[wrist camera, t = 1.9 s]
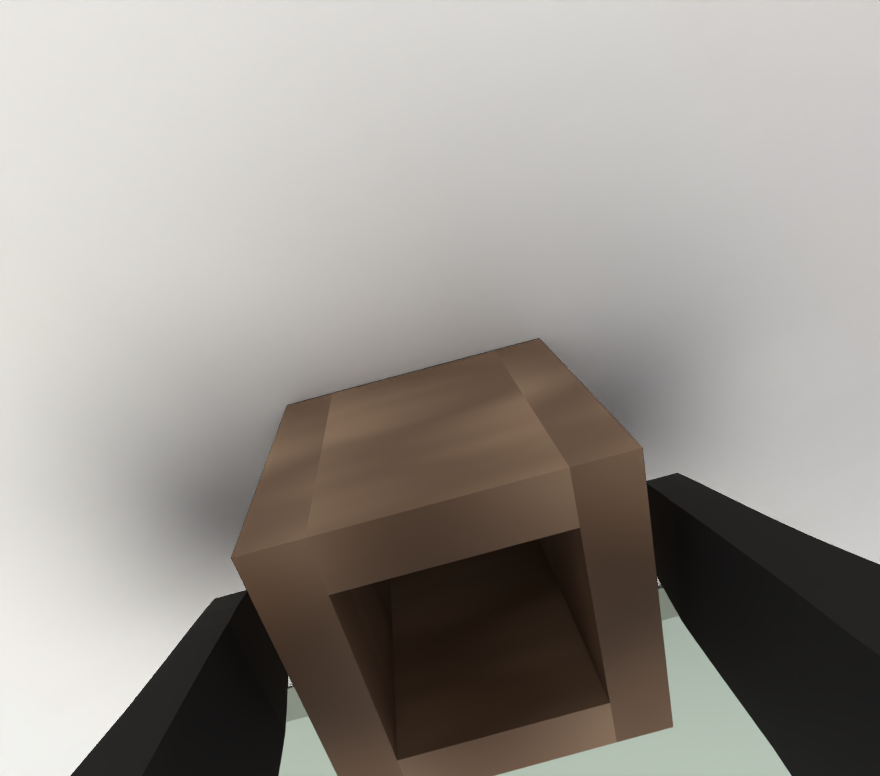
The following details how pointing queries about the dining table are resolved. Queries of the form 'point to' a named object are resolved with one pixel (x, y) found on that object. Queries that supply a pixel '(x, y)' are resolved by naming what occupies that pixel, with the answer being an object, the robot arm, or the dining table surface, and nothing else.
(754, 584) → the robot arm
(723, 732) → the sage board
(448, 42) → the dining table surface
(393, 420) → the walnut collar
